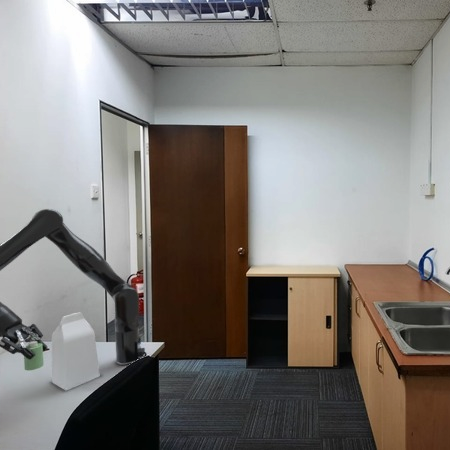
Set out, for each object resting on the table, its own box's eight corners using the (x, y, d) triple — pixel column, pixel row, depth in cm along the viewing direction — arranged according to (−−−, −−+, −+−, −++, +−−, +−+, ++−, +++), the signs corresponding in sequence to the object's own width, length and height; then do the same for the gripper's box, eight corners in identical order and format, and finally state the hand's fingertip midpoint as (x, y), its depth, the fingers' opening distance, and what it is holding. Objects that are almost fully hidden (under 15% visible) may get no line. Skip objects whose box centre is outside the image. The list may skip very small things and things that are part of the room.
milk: (65, 390, 123) (61, 321, 121) (51, 382, 129) (47, 316, 127) (99, 376, 133) (96, 312, 131) (85, 368, 139) (81, 307, 138)
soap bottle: (46, 362, 116) (45, 339, 116) (37, 370, 111) (36, 345, 111) (31, 363, 116) (29, 339, 115) (21, 371, 111) (19, 346, 110)
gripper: (-11, 318, 105) (30, 355, 106) (25, 305, 119) (61, 337, 120) (-28, 335, 105) (14, 371, 106) (10, 319, 119) (46, 352, 121)
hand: (39, 353), depth 113 cm, fingers closed on soap bottle, 5 cm apart
